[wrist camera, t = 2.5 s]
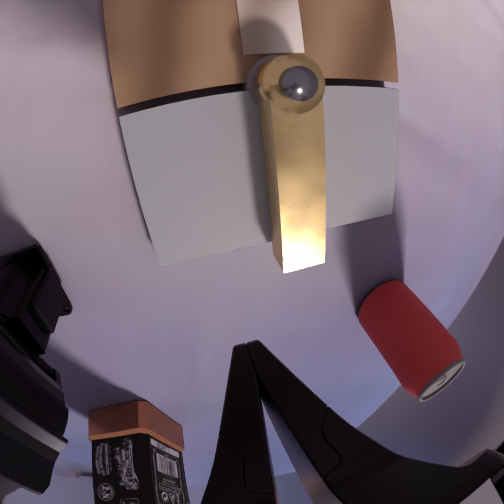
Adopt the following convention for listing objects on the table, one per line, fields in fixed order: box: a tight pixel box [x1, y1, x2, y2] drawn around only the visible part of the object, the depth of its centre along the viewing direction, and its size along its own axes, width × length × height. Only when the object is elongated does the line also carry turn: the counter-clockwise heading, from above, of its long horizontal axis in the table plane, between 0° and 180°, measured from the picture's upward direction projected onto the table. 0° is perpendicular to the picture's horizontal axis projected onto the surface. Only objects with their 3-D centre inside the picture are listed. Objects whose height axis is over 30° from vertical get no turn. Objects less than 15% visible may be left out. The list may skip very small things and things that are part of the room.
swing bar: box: [253, 53, 326, 273], centre depth 15 cm, size 13×3×3 cm, turn 6°
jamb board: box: [119, 55, 399, 267], centre depth 17 cm, size 18×12×2 cm, turn 96°
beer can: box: [359, 280, 465, 402], centre depth 24 cm, size 7×7×12 cm
